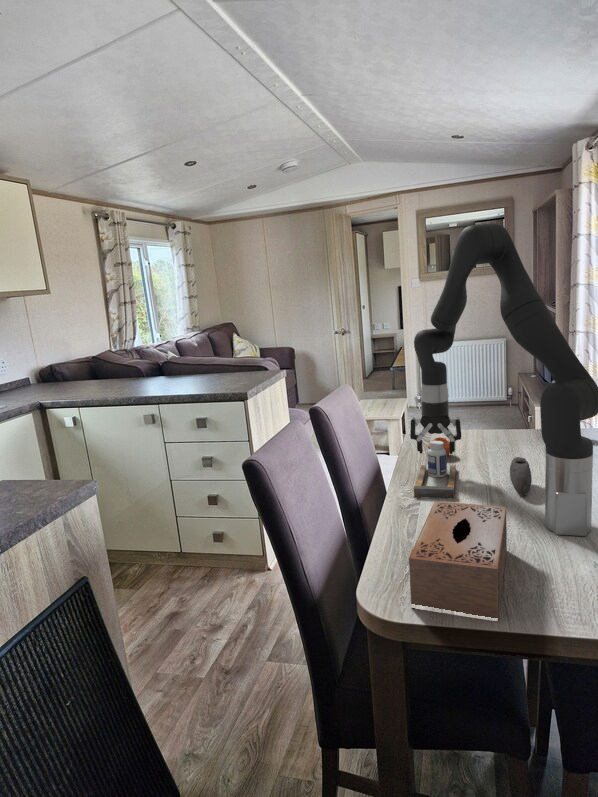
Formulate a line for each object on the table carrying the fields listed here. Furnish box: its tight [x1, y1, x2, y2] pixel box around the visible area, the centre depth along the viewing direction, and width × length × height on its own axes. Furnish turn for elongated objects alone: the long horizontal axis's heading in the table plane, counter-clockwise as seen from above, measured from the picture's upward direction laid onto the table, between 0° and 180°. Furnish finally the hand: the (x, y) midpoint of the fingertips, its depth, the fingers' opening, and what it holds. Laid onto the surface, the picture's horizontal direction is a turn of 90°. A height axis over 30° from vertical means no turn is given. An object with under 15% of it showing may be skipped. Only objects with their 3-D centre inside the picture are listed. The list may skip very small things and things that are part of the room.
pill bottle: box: [426, 440, 448, 478], centre depth 160 cm, size 5×5×10 cm
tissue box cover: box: [408, 500, 508, 618], centre depth 105 cm, size 26×14×10 cm, turn 157°
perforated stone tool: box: [509, 456, 533, 497], centre depth 144 cm, size 15×5×7 cm, turn 161°
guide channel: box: [413, 464, 457, 499], centre depth 154 cm, size 22×10×2 cm, turn 163°
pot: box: [427, 437, 451, 457], centre depth 176 cm, size 8×8×7 cm
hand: (436, 453), depth 160 cm, fingers open, 8 cm apart
